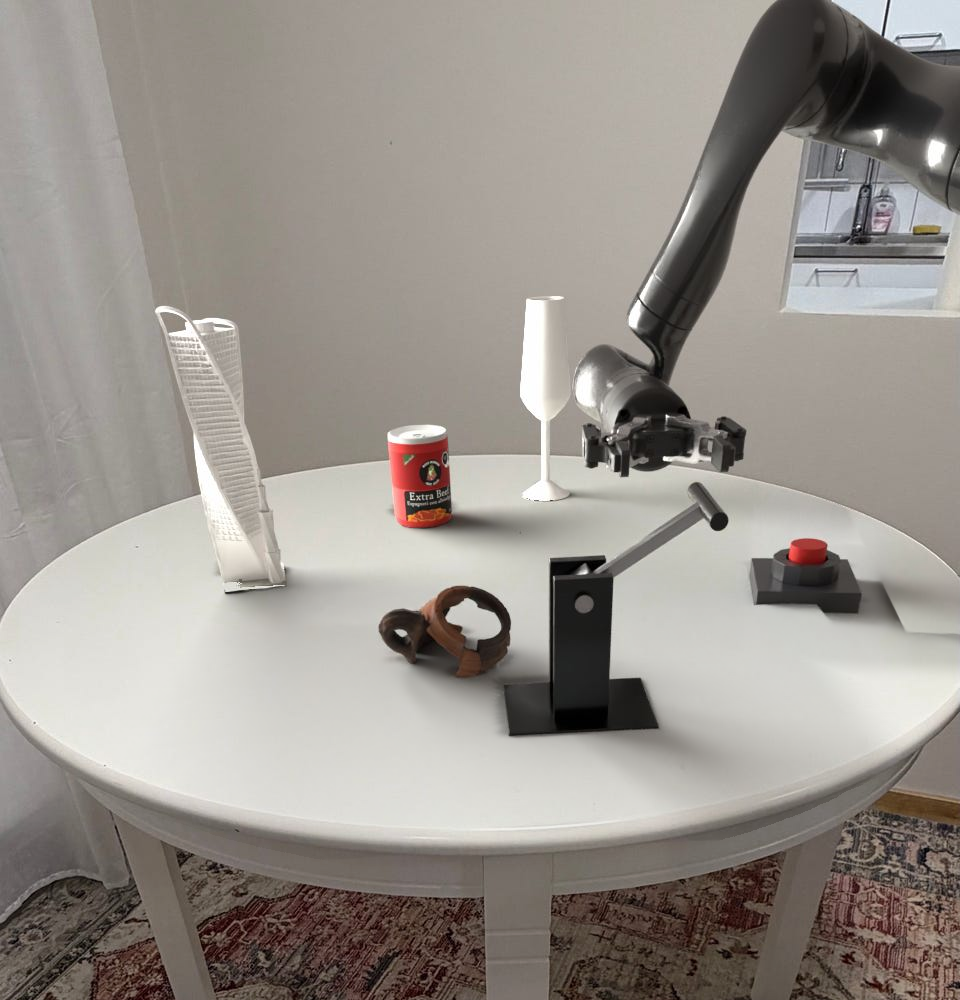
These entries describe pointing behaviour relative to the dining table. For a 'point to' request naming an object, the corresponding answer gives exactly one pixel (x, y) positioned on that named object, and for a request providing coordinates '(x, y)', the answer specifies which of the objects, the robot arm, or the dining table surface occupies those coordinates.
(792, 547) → the button
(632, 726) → the switch bracket
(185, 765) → the dining table surface
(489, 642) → the brown curved ring piece
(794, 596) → the housing
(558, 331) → the champagne flute
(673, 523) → the switch lever
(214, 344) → the skyscraper
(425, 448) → the canned food
